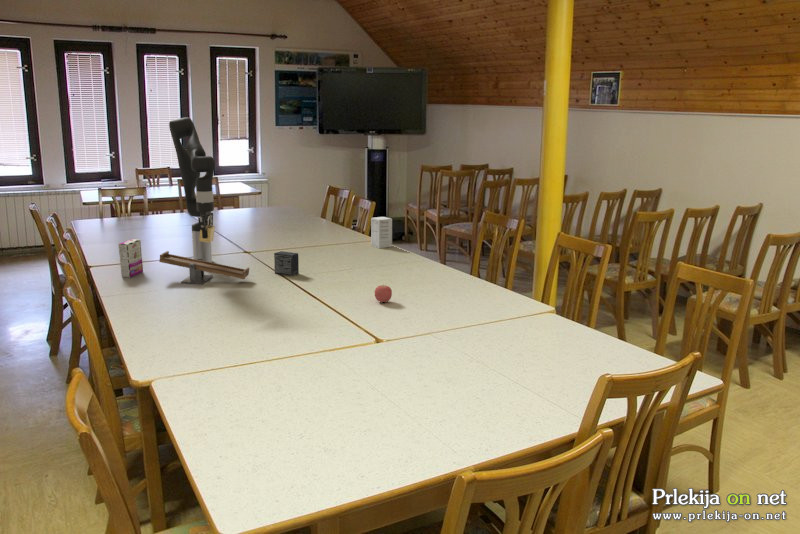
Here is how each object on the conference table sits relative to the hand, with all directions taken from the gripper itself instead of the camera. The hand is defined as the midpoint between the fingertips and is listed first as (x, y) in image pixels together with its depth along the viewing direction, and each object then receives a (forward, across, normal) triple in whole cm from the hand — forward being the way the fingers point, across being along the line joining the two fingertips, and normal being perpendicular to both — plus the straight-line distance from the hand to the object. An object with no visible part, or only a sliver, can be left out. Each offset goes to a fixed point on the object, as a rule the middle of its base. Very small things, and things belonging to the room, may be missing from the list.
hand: (206, 236), depth 314 cm
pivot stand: (+21, +1, -5) cm, 22 cm away
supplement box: (+23, -88, +74) cm, 117 cm away
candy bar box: (+21, -5, -39) cm, 45 cm away
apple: (+21, +26, +84) cm, 90 cm away
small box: (+21, -17, +33) cm, 43 cm away
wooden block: (+2, 0, 0) cm, 2 cm away
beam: (+15, +1, -2) cm, 15 cm away
